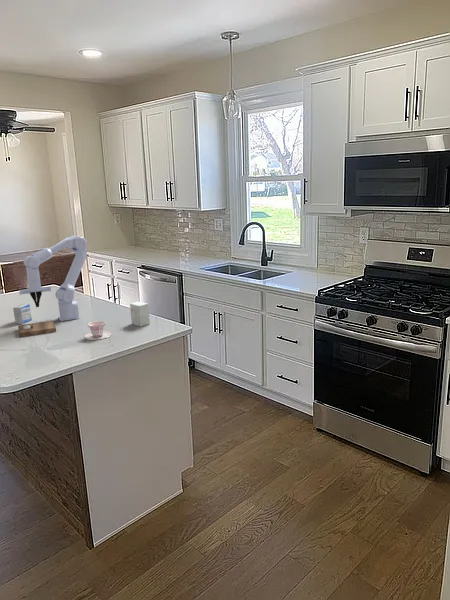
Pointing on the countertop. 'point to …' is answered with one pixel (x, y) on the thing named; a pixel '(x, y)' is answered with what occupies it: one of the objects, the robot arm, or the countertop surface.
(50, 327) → the hole plate
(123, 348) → the countertop surface
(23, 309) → the medicine box
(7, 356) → the countertop surface
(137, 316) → the small box
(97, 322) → the teacup
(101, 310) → the countertop surface
